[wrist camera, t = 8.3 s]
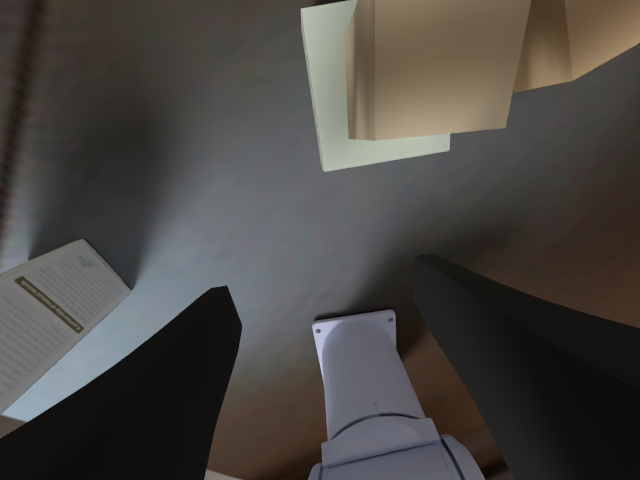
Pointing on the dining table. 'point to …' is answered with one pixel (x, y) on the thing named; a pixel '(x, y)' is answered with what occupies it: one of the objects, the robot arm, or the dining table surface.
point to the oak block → (574, 39)
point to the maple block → (431, 66)
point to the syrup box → (51, 312)
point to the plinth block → (345, 96)
